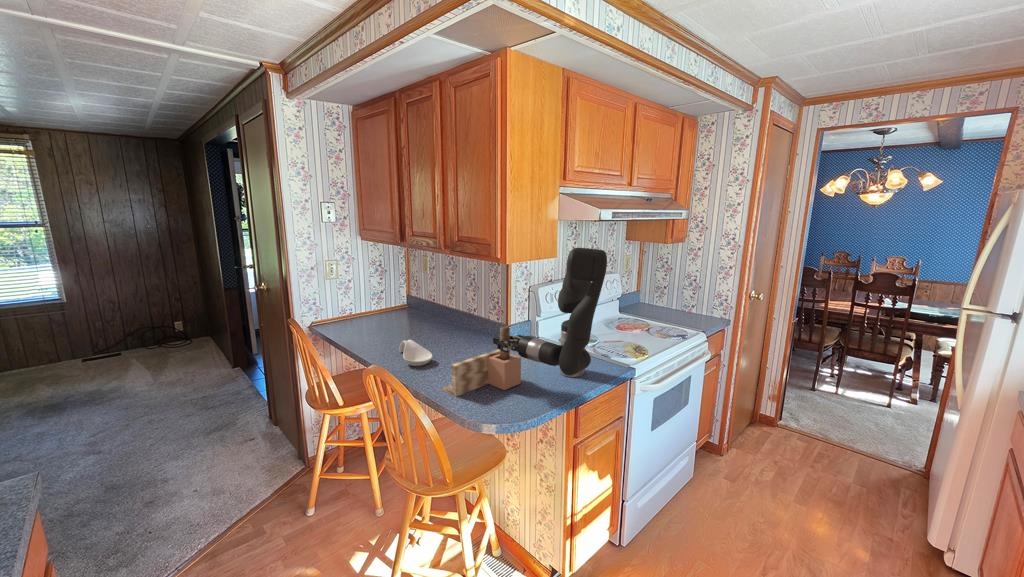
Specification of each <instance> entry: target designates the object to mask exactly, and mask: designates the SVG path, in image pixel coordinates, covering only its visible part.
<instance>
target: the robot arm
mask: <svg viewBox="0 0 1024 577" xmlns="http://www.w3.org/2000/svg"><path fill="white" fill-rule="evenodd" d="M607 267H608V255H607V252H606V251H605V250H603V249H597V248H589V247H588V248H587V247H574V248H572V249H571V250H570V251H569V253H568V256H567V261H566V269H565V274H564V275H565V276H564V277H563V280H562V286H561V289H560V291H559V294H558V297H557V306H558V309H559V311H560V312H561V313H563V314H570V315H569V318H568V319H567V320H564V321H562V322H561V325H560V326H561V327H560V328H561V329H560V330H561V331H560V344H555V343H552V342H549V341H547V340H544V339H540V338H537V337H534V336H529V335H522V334H517V335H510V339H507V340H502V339H500V338H499V337H493V338H492V344H493V345H496V348H497V349H496V350H498V349H499V350H501V351H503V352H505V353H507V352H508V350H510V351H512V352H517V354H518V356H519V357H521V358H523V359H527V360H528V361H529V360H530V361H533V362H537V363H542V364H545V365H548V366H552V367H556V366H559V369H560V371H559V372H560V374H561V375H562V376H564V377H569V378H578V377H582V376H583V375H584V374H585V372H586V369H587V368H589V366H590V364H591V361H592V358H591V355H590V353H589V352H588V350H587V349H586V347H587V346H588V345H589V343H590V340H591V336H592V335H591V332H592V328H593V327H592V326H593V323H594V322H593V321H594V317H595V312H596V309H597V306H598V303H599V299H600V295H601V292H602V288H603V285H604V281H605V278H606V273H607V269H608V268H607ZM503 342H505V343H503Z"/></svg>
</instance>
